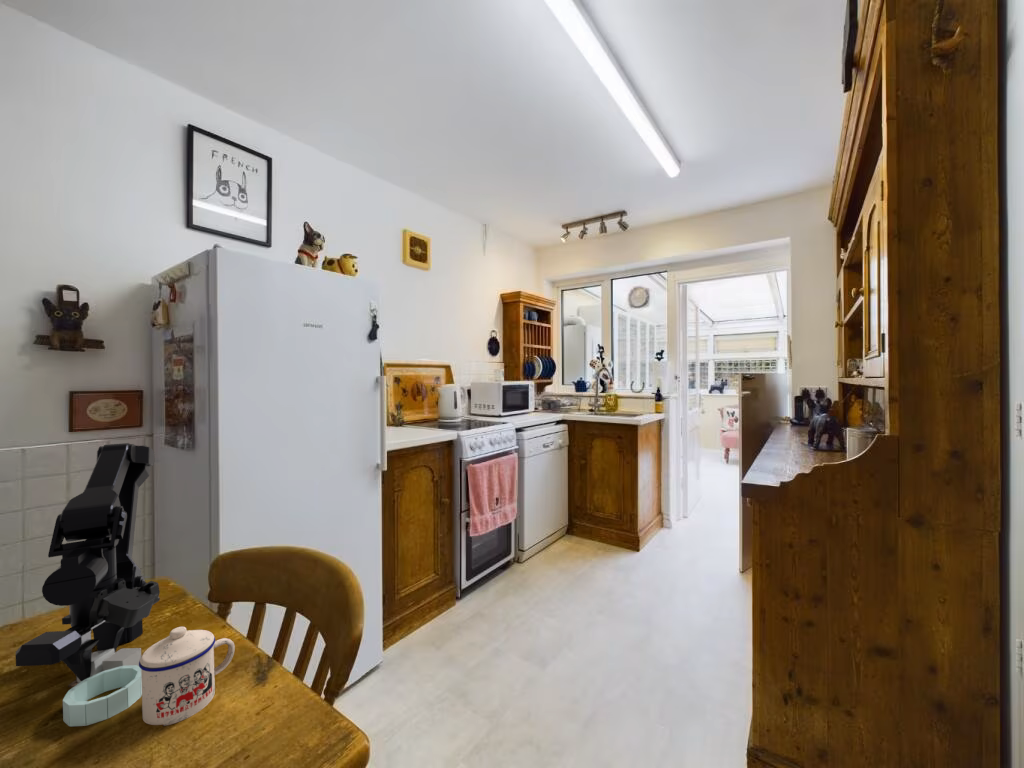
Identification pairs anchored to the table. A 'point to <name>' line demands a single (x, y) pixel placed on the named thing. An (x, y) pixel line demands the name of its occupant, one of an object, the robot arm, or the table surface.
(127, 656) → the grey cube
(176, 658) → the teacup with lid
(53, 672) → the table surface
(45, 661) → the robot arm
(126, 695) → the bowl
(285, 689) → the table surface
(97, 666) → the light grey cube
